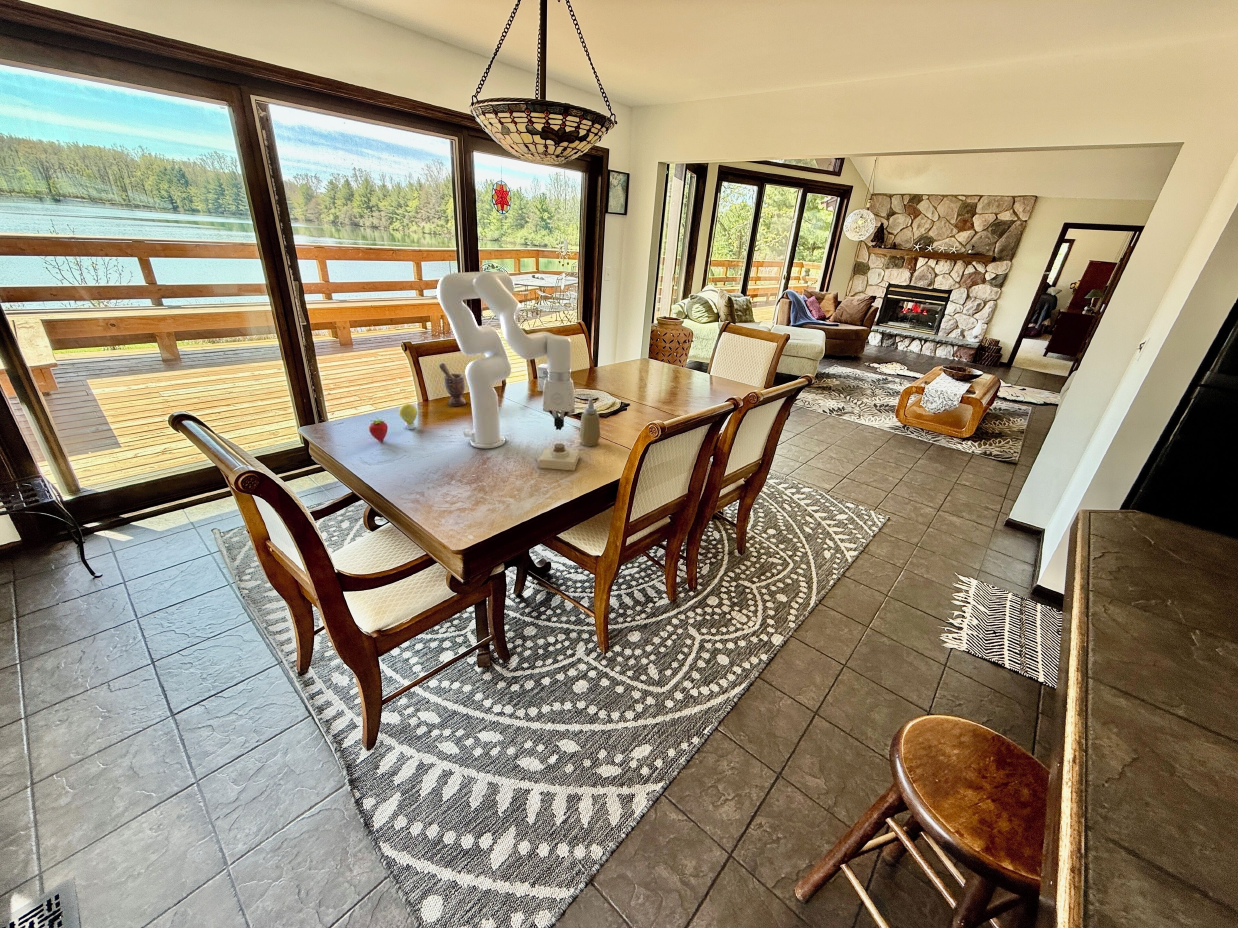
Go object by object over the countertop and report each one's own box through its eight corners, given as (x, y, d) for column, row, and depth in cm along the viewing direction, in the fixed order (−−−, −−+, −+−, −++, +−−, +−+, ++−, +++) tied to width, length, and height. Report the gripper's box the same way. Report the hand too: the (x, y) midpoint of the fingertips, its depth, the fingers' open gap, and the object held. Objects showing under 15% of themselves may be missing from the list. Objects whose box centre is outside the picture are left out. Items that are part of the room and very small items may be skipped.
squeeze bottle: (597, 449, 180) (598, 403, 173) (576, 446, 182) (577, 400, 174) (602, 441, 188) (603, 396, 180) (582, 438, 189) (583, 394, 181)
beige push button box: (539, 467, 164) (539, 454, 162) (545, 455, 173) (545, 443, 171) (574, 470, 163) (574, 457, 161) (578, 458, 172) (578, 445, 170)
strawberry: (368, 445, 174) (363, 419, 169) (377, 437, 180) (372, 412, 176) (384, 446, 174) (380, 420, 169) (393, 438, 181) (388, 413, 176)
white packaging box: (537, 391, 242) (537, 366, 237) (542, 387, 249) (541, 363, 243) (551, 392, 241) (551, 368, 236) (556, 388, 248) (555, 364, 242)
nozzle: (553, 452, 164) (553, 447, 164) (555, 448, 168) (555, 443, 167) (563, 453, 164) (563, 448, 163) (565, 449, 167) (565, 443, 167)
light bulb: (397, 429, 189) (393, 405, 184) (410, 424, 194) (406, 400, 190) (411, 432, 186) (407, 408, 182) (423, 427, 192) (420, 403, 188)
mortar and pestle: (460, 409, 213) (456, 365, 204) (441, 408, 213) (436, 363, 204) (469, 401, 223) (465, 358, 215) (450, 400, 223) (446, 357, 215)
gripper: (533, 377, 152) (534, 430, 159) (580, 380, 151) (579, 434, 159) (538, 371, 158) (539, 423, 166) (583, 374, 158) (582, 426, 165)
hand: (559, 428), depth 162 cm, fingers closed
